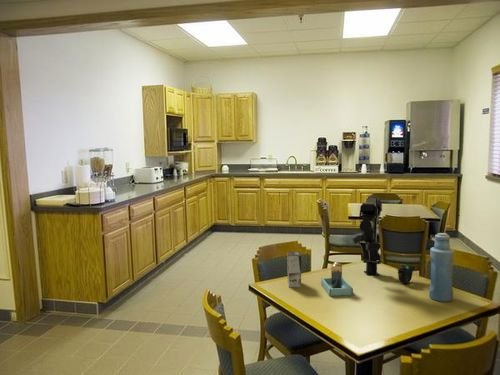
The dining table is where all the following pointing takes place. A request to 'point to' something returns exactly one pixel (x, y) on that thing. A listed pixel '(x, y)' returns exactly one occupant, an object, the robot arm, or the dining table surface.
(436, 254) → the bottle
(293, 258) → the coffee box
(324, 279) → the tray
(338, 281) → the cylinder
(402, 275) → the controller
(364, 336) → the dining table surface
